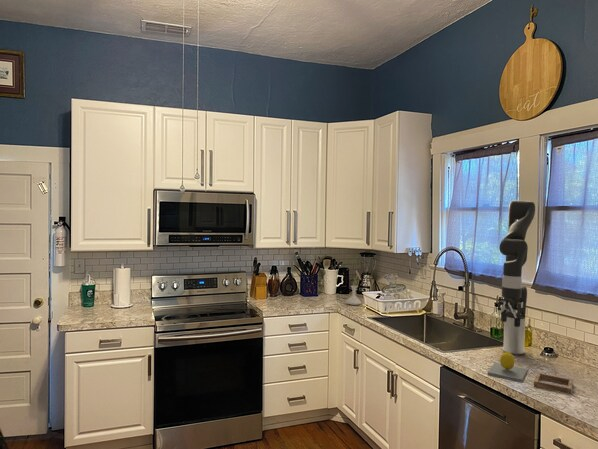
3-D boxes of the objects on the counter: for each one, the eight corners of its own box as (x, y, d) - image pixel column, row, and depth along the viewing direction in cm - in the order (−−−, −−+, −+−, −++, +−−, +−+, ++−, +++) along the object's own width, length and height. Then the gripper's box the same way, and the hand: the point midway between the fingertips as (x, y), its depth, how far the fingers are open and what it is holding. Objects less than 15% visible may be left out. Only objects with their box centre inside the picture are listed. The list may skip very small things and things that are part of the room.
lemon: (500, 371, 184) (501, 352, 183) (499, 367, 189) (500, 349, 189) (514, 373, 182) (515, 354, 181) (513, 369, 187) (514, 350, 187)
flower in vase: (357, 306, 316) (358, 272, 315) (343, 304, 322) (344, 270, 321) (364, 304, 327) (365, 270, 326) (350, 302, 333) (352, 269, 332)
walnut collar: (537, 377, 181) (537, 372, 181) (572, 384, 174) (572, 379, 174) (533, 386, 170) (533, 381, 170) (571, 394, 163) (571, 389, 163)
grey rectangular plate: (494, 364, 195) (495, 362, 195) (527, 371, 188) (527, 368, 188) (487, 374, 182) (487, 372, 182) (522, 382, 175) (522, 379, 175)
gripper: (531, 289, 179) (529, 328, 179) (508, 283, 193) (507, 319, 193) (515, 289, 178) (513, 328, 178) (493, 283, 192) (491, 320, 192)
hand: (510, 324), depth 186 cm, fingers open, 8 cm apart
